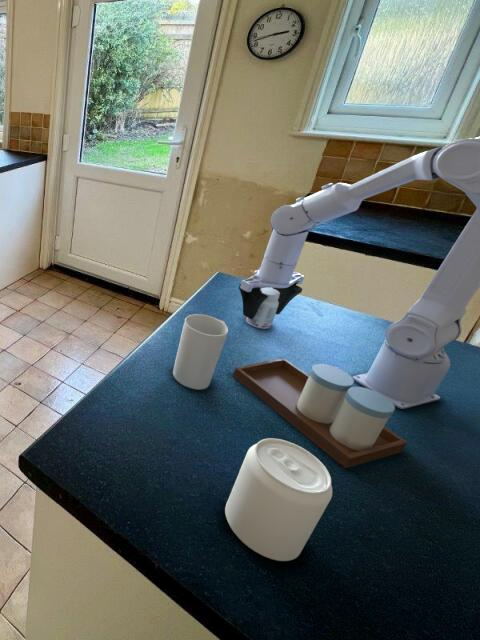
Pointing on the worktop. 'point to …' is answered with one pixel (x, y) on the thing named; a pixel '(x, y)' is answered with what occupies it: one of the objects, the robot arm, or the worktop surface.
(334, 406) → the white jar
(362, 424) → the blue lidded jar
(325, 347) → the worktop surface
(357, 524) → the worktop surface
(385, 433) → the tray
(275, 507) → the beverage can
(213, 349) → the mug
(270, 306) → the pill bottle
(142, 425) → the worktop surface
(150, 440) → the worktop surface
